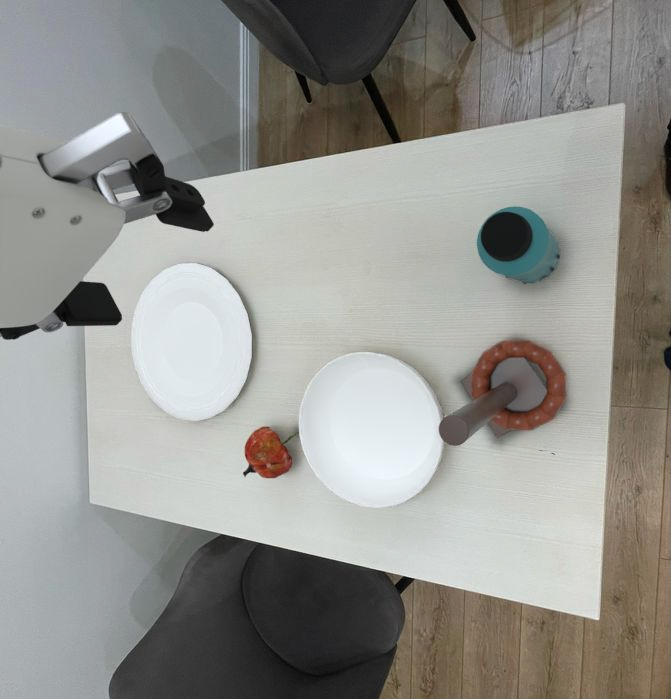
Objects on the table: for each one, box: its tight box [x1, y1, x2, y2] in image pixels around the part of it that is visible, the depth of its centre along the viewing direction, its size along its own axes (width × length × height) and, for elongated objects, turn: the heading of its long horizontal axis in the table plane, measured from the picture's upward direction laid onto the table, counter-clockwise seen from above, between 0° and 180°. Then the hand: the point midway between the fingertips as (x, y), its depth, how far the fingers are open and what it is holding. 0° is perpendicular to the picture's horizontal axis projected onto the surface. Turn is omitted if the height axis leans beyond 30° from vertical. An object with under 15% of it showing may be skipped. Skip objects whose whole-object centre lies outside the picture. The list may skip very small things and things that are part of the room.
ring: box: [470, 339, 567, 432], centre depth 62 cm, size 10×10×2 cm
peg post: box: [439, 357, 547, 447], centre depth 53 cm, size 8×8×25 cm
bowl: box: [298, 351, 446, 509], centre depth 69 cm, size 20×20×6 cm
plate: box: [130, 262, 254, 422], centre depth 86 cm, size 25×25×2 cm
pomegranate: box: [242, 426, 299, 479], centre depth 77 cm, size 7×7×10 cm
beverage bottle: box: [476, 205, 562, 285], centre depth 54 cm, size 6×7×20 cm
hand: (153, 259), depth 35 cm, fingers open, 9 cm apart
